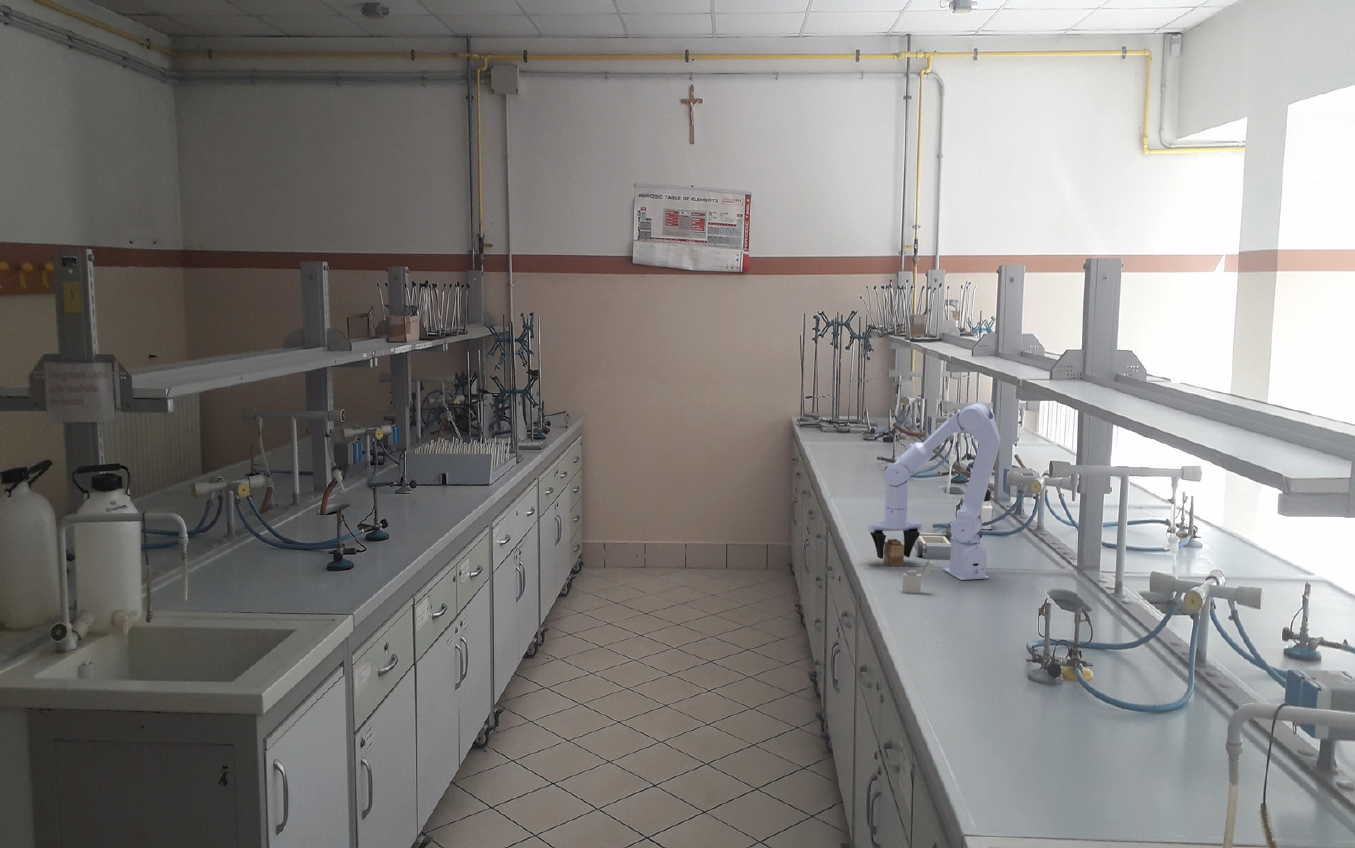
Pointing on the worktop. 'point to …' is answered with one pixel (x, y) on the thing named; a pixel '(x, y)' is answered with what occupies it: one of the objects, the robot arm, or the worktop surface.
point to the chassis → (934, 545)
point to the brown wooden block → (893, 552)
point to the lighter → (915, 579)
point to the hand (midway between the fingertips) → (893, 557)
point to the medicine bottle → (987, 510)
